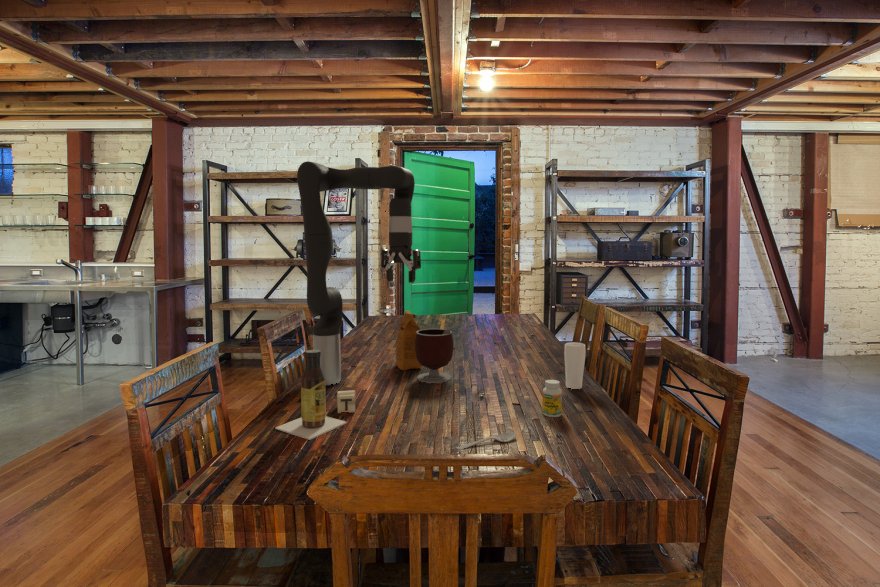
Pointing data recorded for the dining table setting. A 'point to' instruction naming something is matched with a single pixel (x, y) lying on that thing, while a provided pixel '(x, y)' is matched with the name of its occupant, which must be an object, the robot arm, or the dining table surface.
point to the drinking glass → (574, 364)
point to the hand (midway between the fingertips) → (400, 282)
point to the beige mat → (310, 433)
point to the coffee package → (407, 343)
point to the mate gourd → (434, 353)
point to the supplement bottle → (552, 399)
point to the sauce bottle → (313, 391)
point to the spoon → (498, 437)
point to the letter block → (346, 401)
